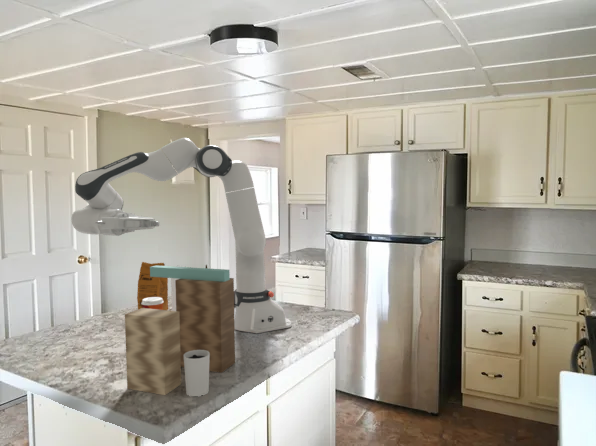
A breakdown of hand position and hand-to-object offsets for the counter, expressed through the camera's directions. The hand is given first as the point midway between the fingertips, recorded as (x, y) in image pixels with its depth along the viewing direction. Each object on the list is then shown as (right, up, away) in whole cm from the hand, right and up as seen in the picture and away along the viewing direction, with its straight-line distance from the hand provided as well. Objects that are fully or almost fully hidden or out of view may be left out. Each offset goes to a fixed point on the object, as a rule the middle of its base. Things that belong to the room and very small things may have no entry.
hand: (149, 223), depth 148 cm
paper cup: (-3, -41, +14) cm, 43 cm away
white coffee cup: (+23, -44, -31) cm, 58 cm away
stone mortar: (+21, -37, +65) cm, 78 cm away
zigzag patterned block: (+10, -43, -27) cm, 52 cm away
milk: (+1, -39, +37) cm, 54 cm away
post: (+21, -42, -12) cm, 49 cm away
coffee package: (-14, -39, +48) cm, 64 cm away
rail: (+16, -16, -12) cm, 26 cm away
